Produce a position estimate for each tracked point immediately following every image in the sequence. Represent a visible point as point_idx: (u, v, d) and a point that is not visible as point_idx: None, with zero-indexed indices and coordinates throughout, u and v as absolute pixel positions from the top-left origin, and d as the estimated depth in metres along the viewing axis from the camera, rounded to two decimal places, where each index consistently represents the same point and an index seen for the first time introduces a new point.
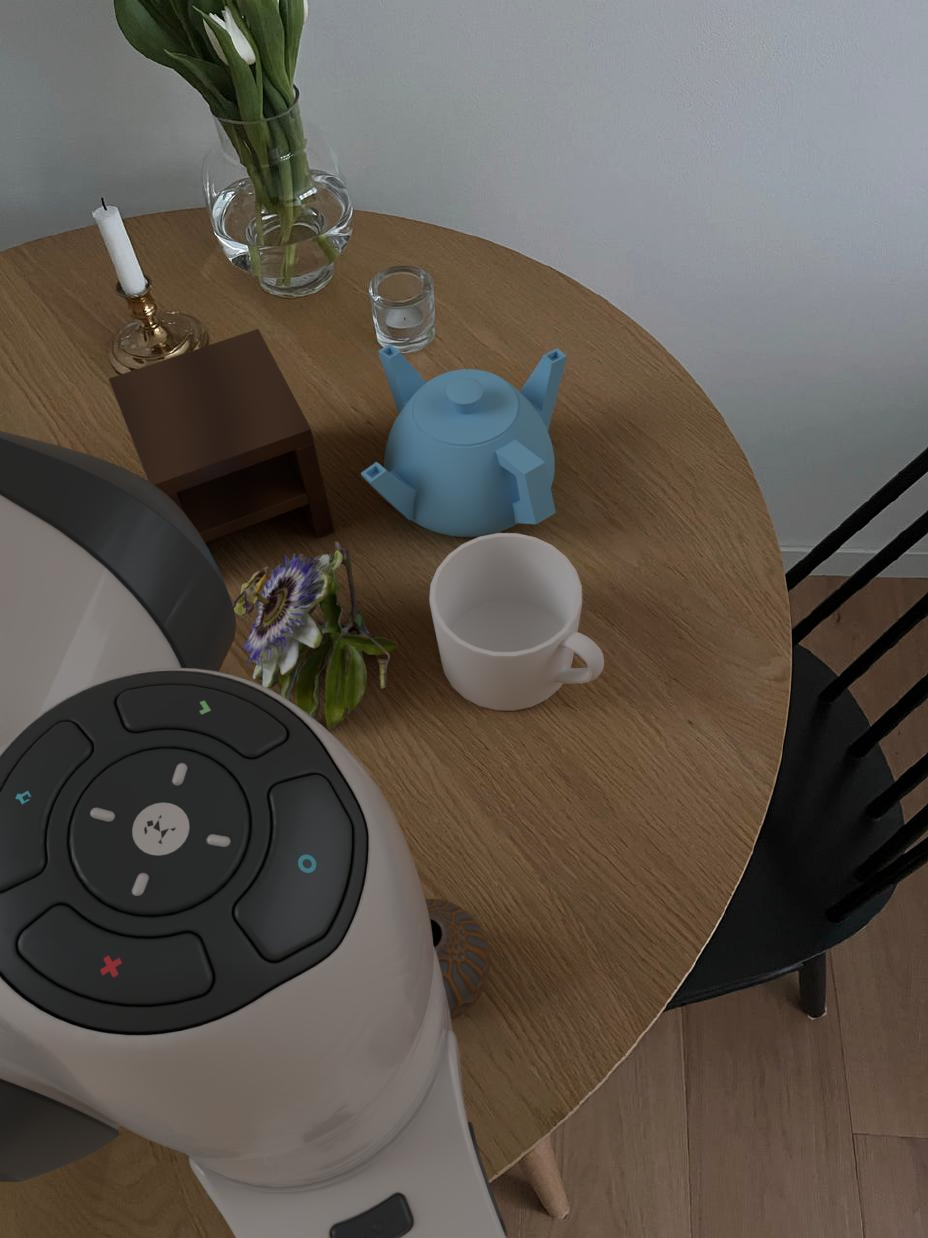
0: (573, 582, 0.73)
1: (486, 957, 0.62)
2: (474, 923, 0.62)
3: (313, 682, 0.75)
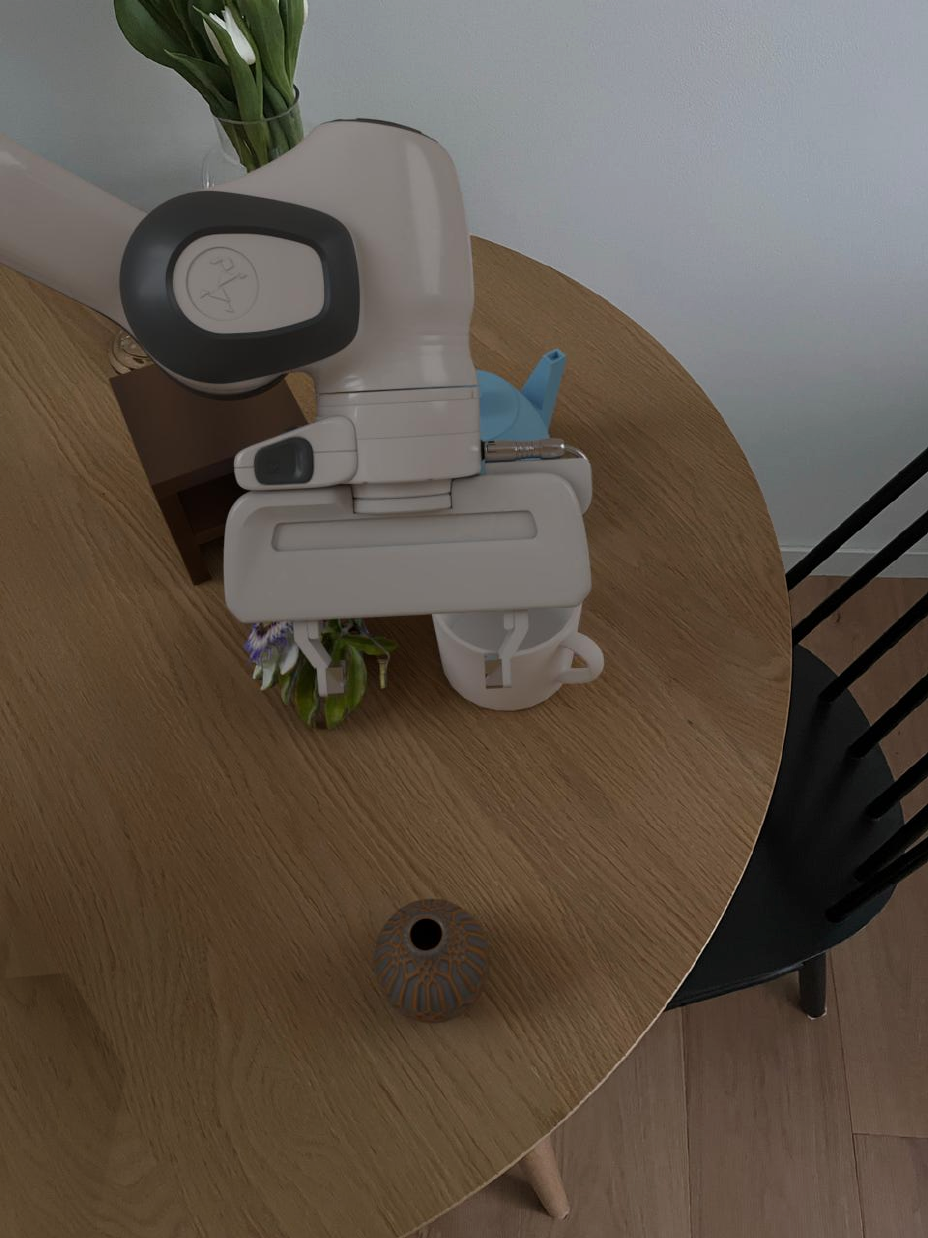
0: None
1: (486, 957, 0.62)
2: (474, 923, 0.62)
3: (313, 682, 0.75)
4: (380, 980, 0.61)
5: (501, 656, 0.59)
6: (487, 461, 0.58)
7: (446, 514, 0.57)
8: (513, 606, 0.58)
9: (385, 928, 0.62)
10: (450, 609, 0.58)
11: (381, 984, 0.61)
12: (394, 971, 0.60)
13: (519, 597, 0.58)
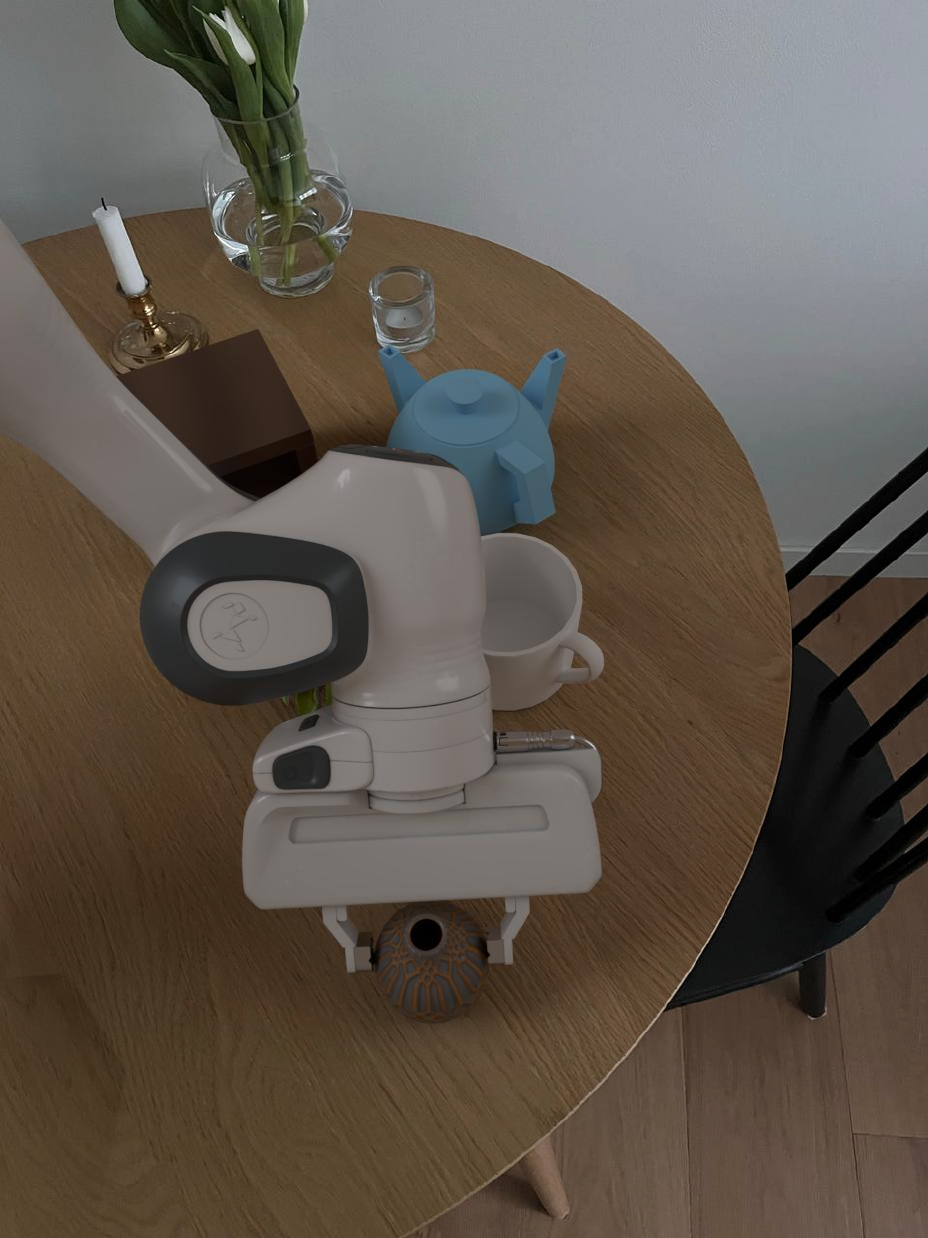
0: (573, 582, 0.73)
1: (486, 957, 0.62)
2: (474, 923, 0.62)
3: None
4: (380, 980, 0.61)
5: (503, 937, 0.61)
6: (499, 752, 0.59)
7: (459, 809, 0.58)
8: (525, 893, 0.59)
9: (385, 928, 0.62)
10: (463, 897, 0.59)
11: (381, 984, 0.61)
12: (394, 971, 0.60)
13: (531, 886, 0.59)
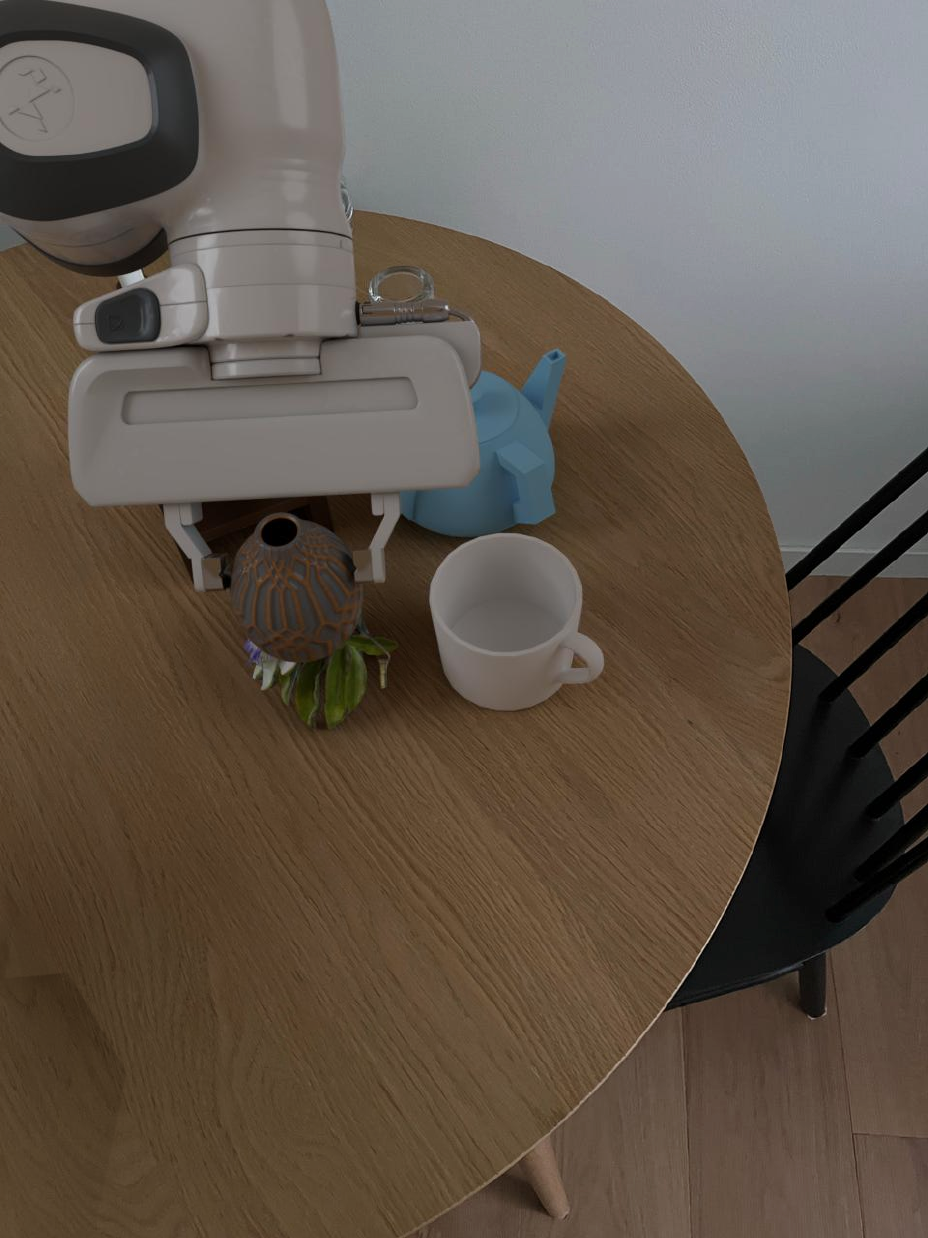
0: (573, 582, 0.73)
1: None
2: (342, 543, 0.55)
3: (313, 682, 0.75)
4: (233, 600, 0.54)
5: (370, 546, 0.53)
6: (363, 325, 0.52)
7: (315, 381, 0.51)
8: (392, 486, 0.52)
9: (241, 546, 0.55)
10: (322, 490, 0.52)
11: (234, 605, 0.54)
12: (245, 580, 0.53)
13: (399, 476, 0.52)
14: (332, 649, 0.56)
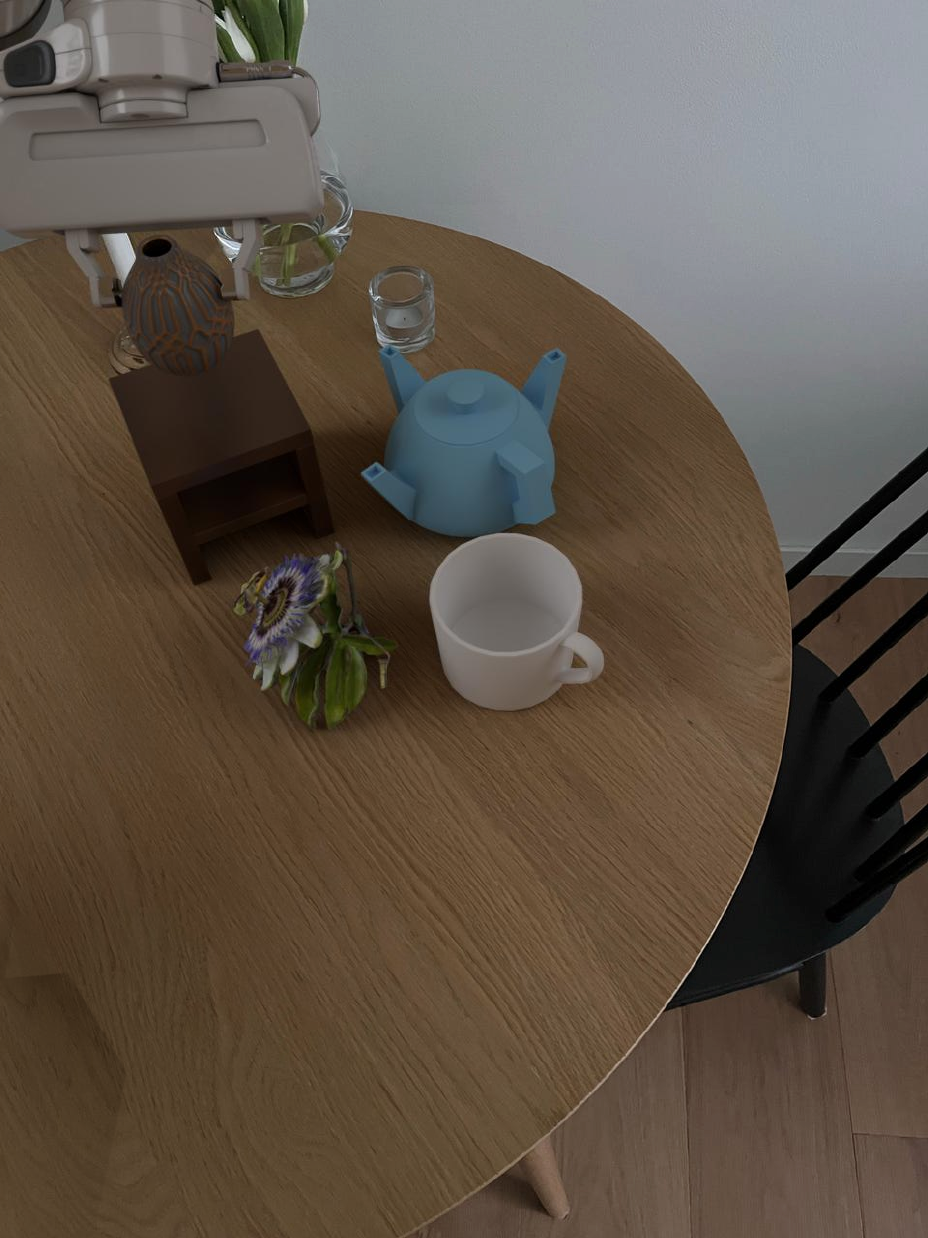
0: (573, 582, 0.73)
1: None
2: None
3: (313, 682, 0.75)
4: (124, 313, 0.67)
5: (233, 265, 0.66)
6: (223, 81, 0.64)
7: (183, 123, 0.64)
8: (248, 211, 0.65)
9: None
10: (191, 214, 0.65)
11: (125, 317, 0.67)
12: (131, 291, 0.65)
13: (252, 202, 0.64)
14: (207, 359, 0.68)
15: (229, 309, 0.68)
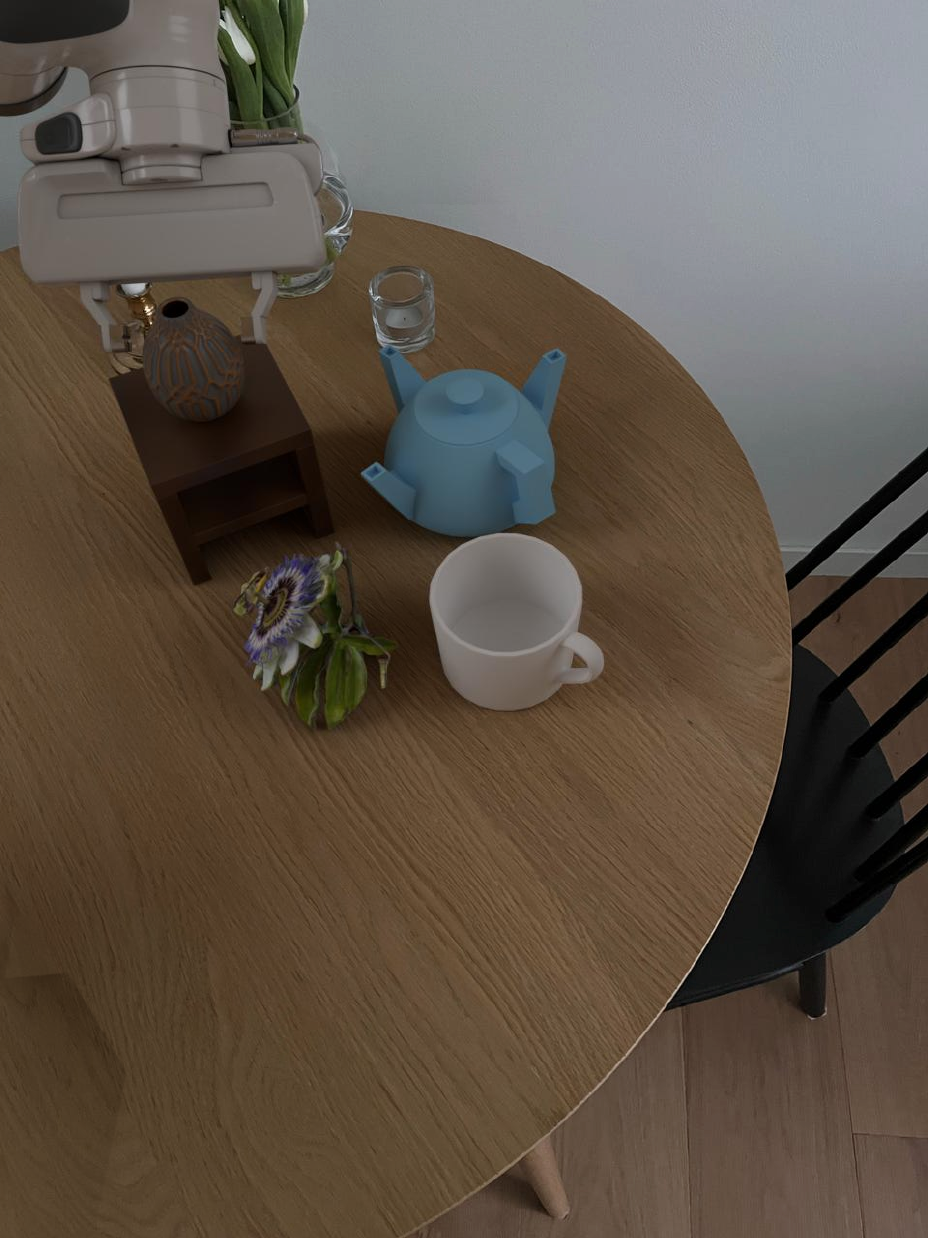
0: (573, 582, 0.73)
1: (235, 353, 0.74)
2: (226, 327, 0.74)
3: (313, 682, 0.75)
4: (144, 366, 0.73)
5: (252, 313, 0.72)
6: (234, 146, 0.71)
7: (198, 185, 0.70)
8: (257, 265, 0.71)
9: None
10: (205, 268, 0.71)
11: (145, 370, 0.73)
12: (152, 347, 0.72)
13: (261, 257, 0.70)
14: (220, 408, 0.75)
15: (240, 362, 0.75)
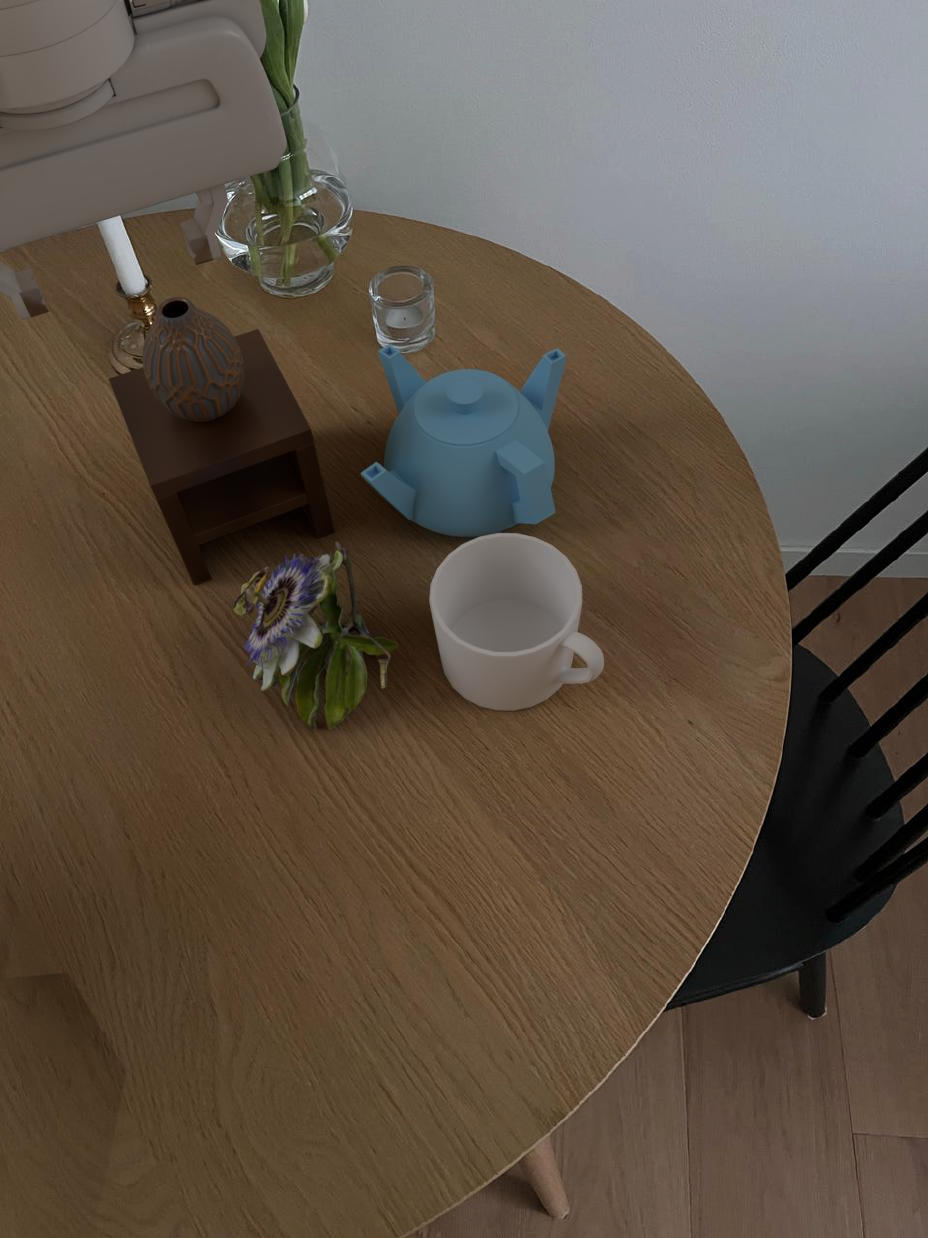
0: (573, 582, 0.73)
1: (235, 353, 0.74)
2: (226, 327, 0.74)
3: (313, 682, 0.75)
4: (144, 366, 0.73)
5: (205, 232, 0.55)
6: (135, 16, 0.47)
7: (110, 104, 0.48)
8: (210, 185, 0.53)
9: None
10: (142, 206, 0.52)
11: (145, 370, 0.73)
12: (152, 347, 0.72)
13: (215, 175, 0.52)
14: (220, 408, 0.75)
15: (240, 362, 0.75)
